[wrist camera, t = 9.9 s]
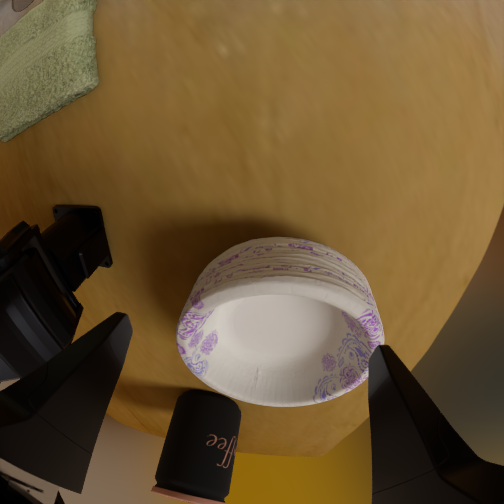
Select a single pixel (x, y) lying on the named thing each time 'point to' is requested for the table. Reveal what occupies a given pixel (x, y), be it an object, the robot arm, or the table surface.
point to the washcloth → (46, 63)
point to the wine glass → (20, 4)
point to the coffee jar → (199, 449)
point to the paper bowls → (280, 323)
